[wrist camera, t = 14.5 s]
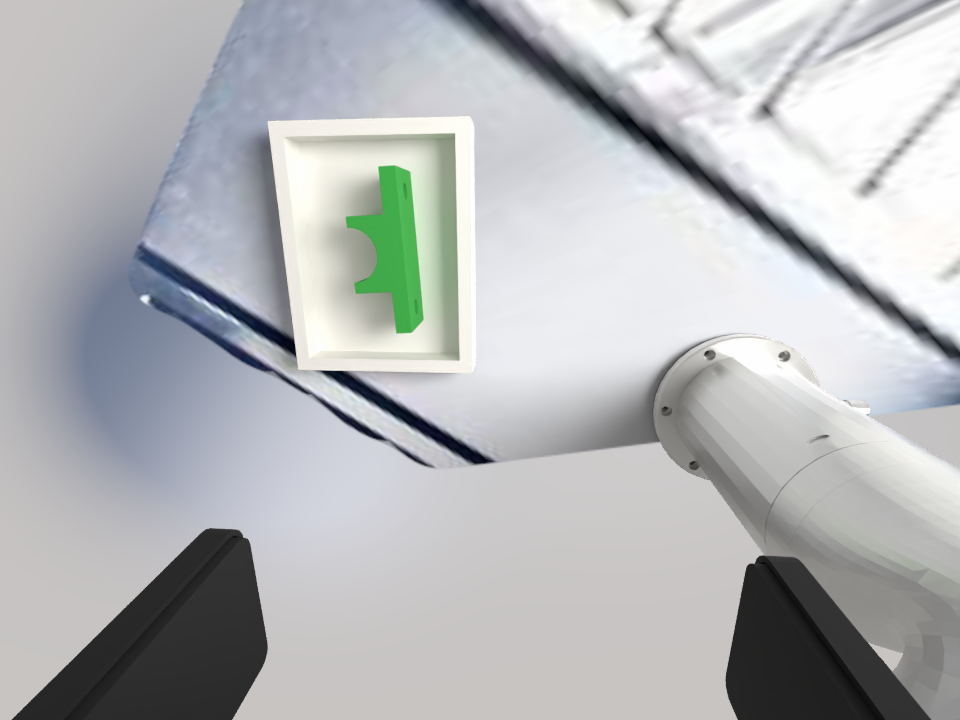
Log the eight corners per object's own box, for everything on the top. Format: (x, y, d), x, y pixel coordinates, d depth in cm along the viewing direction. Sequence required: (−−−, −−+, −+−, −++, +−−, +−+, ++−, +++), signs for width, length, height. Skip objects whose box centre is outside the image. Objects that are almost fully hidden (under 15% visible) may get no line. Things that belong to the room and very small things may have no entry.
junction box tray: (474, 124, 34) (469, 116, 31) (476, 362, 39) (472, 373, 36) (288, 129, 35) (267, 121, 32) (314, 359, 40) (298, 369, 38)
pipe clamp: (361, 174, 35) (338, 168, 31) (410, 171, 35) (395, 164, 30) (378, 322, 38) (360, 335, 34) (424, 320, 38) (411, 333, 33)
